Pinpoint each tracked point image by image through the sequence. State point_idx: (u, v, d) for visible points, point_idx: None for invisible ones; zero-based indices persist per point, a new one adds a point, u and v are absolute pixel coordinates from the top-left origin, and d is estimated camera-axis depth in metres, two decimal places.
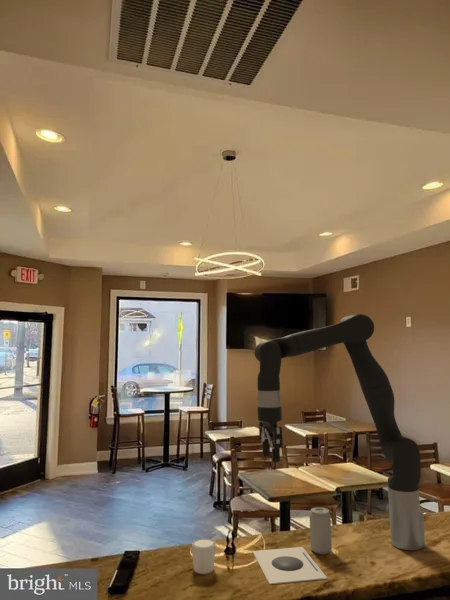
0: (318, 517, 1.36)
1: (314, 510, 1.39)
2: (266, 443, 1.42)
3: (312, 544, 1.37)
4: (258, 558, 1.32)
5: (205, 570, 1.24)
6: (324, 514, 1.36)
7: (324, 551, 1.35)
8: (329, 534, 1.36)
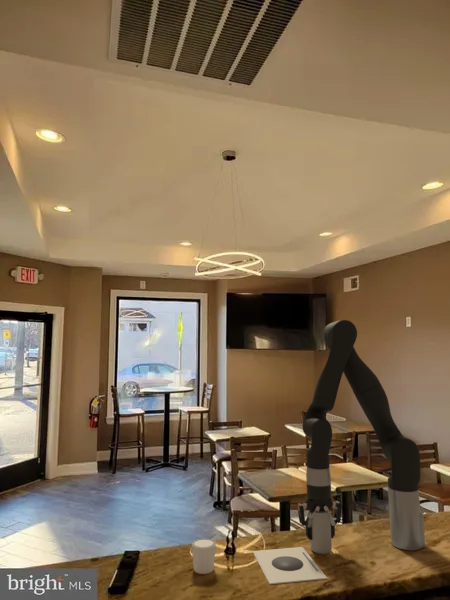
0: (318, 517, 1.36)
1: None
2: None
3: (312, 544, 1.37)
4: (258, 558, 1.32)
5: (205, 570, 1.24)
6: (324, 514, 1.36)
7: (324, 551, 1.35)
8: (329, 534, 1.36)
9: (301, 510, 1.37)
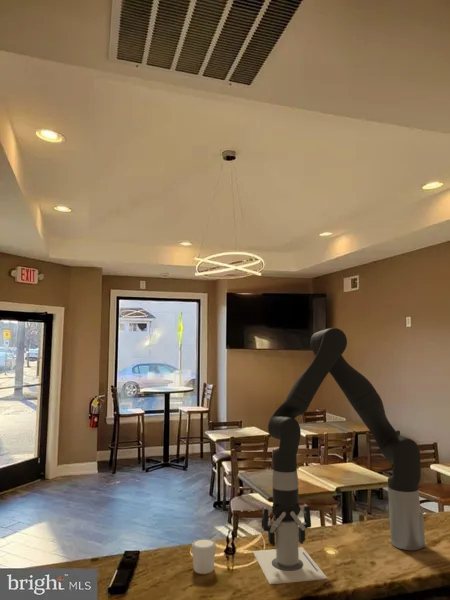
0: (284, 527, 1.27)
1: None
2: None
3: (278, 556, 1.28)
4: (258, 558, 1.32)
5: (205, 570, 1.24)
6: (290, 524, 1.28)
7: (290, 564, 1.26)
8: (296, 545, 1.27)
9: (265, 514, 1.28)
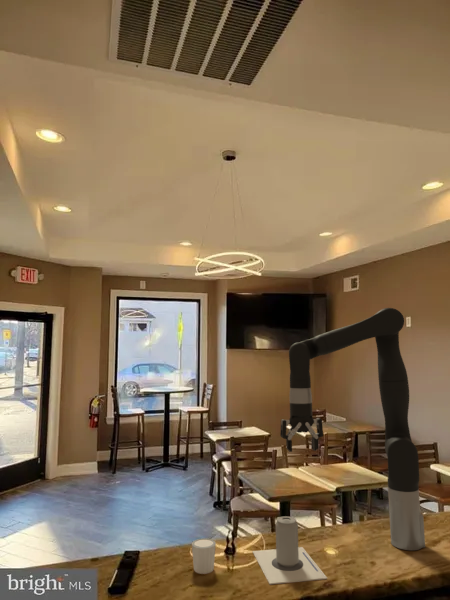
0: (284, 527, 1.27)
1: (280, 519, 1.30)
2: None
3: (278, 556, 1.28)
4: (258, 558, 1.32)
5: (205, 570, 1.24)
6: (290, 524, 1.28)
7: (290, 564, 1.26)
8: (296, 545, 1.27)
9: (284, 424, 1.49)
